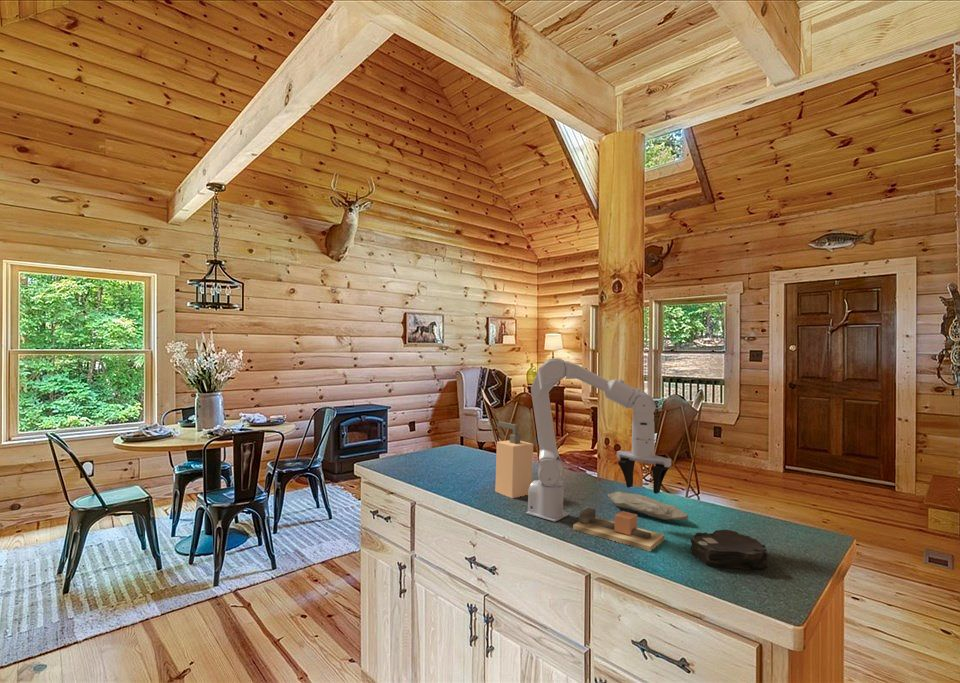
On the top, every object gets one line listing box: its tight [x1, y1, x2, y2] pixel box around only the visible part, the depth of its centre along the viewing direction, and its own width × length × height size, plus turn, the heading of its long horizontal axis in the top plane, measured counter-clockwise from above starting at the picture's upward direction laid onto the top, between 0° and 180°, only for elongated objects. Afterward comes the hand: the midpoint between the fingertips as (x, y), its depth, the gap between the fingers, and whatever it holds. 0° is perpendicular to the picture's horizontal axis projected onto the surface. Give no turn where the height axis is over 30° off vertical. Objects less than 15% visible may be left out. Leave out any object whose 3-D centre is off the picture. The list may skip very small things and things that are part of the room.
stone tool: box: [607, 491, 690, 521], centre depth 139 cm, size 12×5×25 cm
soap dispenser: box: [494, 420, 534, 499], centre depth 157 cm, size 13×9×22 cm
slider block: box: [614, 510, 638, 535], centre depth 120 cm, size 4×5×4 cm
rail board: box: [572, 507, 666, 552], centre depth 121 cm, size 20×10×4 cm, turn 51°
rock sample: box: [690, 529, 769, 570], centre depth 109 cm, size 18×16×5 cm
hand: (642, 489), depth 127 cm, fingers open, 7 cm apart
